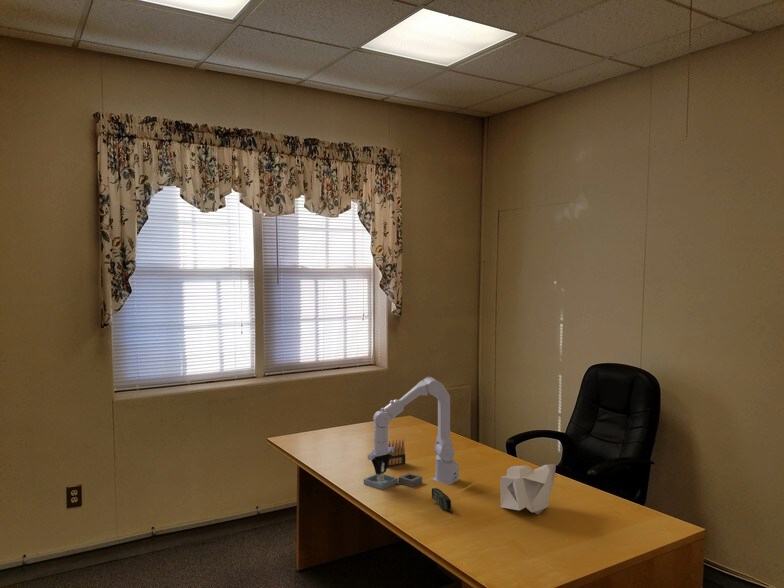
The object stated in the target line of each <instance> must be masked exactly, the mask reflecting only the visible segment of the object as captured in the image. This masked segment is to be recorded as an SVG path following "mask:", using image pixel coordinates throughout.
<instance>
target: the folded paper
mask: <svg viewBox="0 0 784 588" xmlns="http://www.w3.org/2000/svg"><path fill="white" fill-rule="evenodd" d="M556 467H557V464H556V463H548V464H544V465H541V466H540V467H537V468H534V469H532V468H531V467H530V466H529V465H513V466H510V467H508V468H507V470H506V475H502V476H500V477H499V480H500V481H499V483H500V485H499V486H500V490H499V491H500V495H499V496H500V508H503V509H509V510H515V511H521V510H523V509H525V508H526V509H527V511H529V512H531V513H534V514H536V515H537V516H539V515H540V514H541V513H542V512H543V511H544V510H545V509H547V508H549V500H550V496H551V494H552V493H551V492H552V489H553V486H554V480H555V477H556V476H555V475H556V474H555V473H556Z"/></svg>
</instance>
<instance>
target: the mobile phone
mask: <svg viewBox="0 0 784 588" xmlns="http://www.w3.org/2000/svg"><path fill="white" fill-rule="evenodd" d="M431 499H432V500H433V501H434V502H435V503H436V504H437V505H438V506H439V507H440V509H442V510H444V511H448V512H450V513H452V514H454V511H453V510H452V501H451V498H450V497H449V496H448V495H447V494H445V493H444V492H443V490H441V489H439V488H437V487H433V488H431Z"/></svg>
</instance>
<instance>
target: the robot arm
mask: <svg viewBox="0 0 784 588" xmlns="http://www.w3.org/2000/svg"><path fill="white" fill-rule="evenodd" d="M428 394H429V395H431V396H433V397H435V398H436V399H437V437H436V439H435V440H436V442H435V443H434V447H433V449H434V453H435V454H436V456H435V476H434V477H432V478H431V480H432V481H436V482H438V483H442V484H446V485H451V484H454V483H456V482H458V481H459V480H460V477H459V475H460V472H459V471H460V469H459V468H460V467H459V463H458V462H457V461H455V460H454V459H453V458H454V457H455V450H454V448H453V442H452V439H451V395H450V393H449V392H448V390H447V389H446V387H445V384H443V383H442V382H440V381H439V380H437V379H436V378H434V377H432V376H426V377H425V378H423V379H421V380H420V381H419V382H418V383H417V384H416V385H414V387H412V388H411V389H410V390H409V391H408V392H407V393H405V394H404V395H402V396H401V398H399V399H395V398H394V400H393V399H391V400H390V401H389V403H388V404H387V405H385V406H384V407H381V408H380V410H377V411H376V412H375V413H374V415H373V417H372V420H373V423H374V427H373V428H374V429H373V431H374V432H373V437H374V439H373V449H372V450H371V452H370V453H368V454H367V460H368V461H371V464H373V468H374V472H375V474H378V475H380V474H381V466H382V462H384V473H387V469H388V467H387V466H388V463H389V460H390V458H391V455H390V454H389V453H390V452H394V448H395V446H394V447H392V446H391V447H388V444H389V441H388V440H389V428H388V427H389V424H390V421H392V420H393V419H394V418H395V417H397V416H398V415H400V413H402V412H403V411H404V408H405V407H406V406H407V405H408V404H409V403H411V402H412V401H414V400H415V399H416V398H418V397H420V396H429V395H428Z"/></svg>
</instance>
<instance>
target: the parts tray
mask: <svg viewBox="0 0 784 588" xmlns="http://www.w3.org/2000/svg"><path fill="white" fill-rule="evenodd" d="M397 484H399V477H395V476H391V475H388V474H385V473H384V481H378V480H377V474H376V473H375V474H373V475H370V476H368V477H366V478H363V485H365V486H369V487H371V488H375V489H378V490H381V491H383V490H386V489H387V488H389V487H392V486H394V485H397Z"/></svg>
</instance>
